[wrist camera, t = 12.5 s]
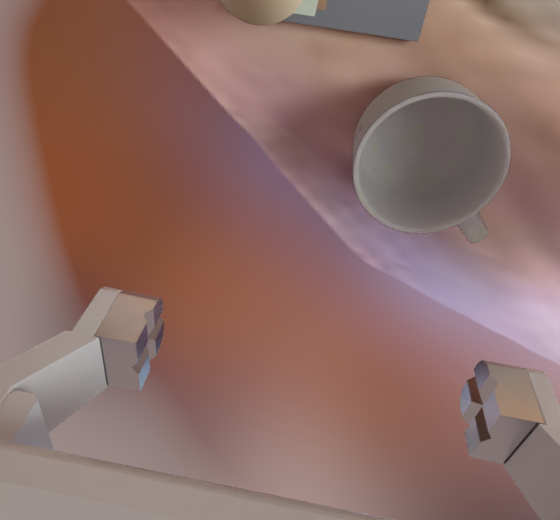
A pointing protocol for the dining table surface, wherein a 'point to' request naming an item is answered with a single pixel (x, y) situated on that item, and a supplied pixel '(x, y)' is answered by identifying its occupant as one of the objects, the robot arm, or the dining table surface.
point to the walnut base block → (322, 4)
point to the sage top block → (307, 7)
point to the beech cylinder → (261, 10)
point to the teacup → (429, 157)
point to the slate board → (370, 17)
